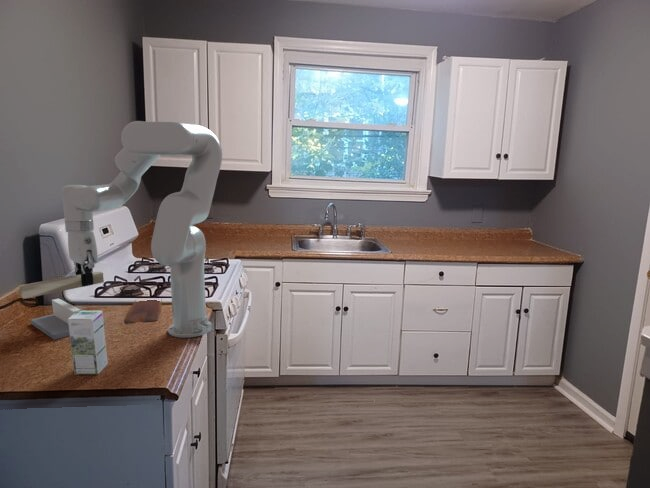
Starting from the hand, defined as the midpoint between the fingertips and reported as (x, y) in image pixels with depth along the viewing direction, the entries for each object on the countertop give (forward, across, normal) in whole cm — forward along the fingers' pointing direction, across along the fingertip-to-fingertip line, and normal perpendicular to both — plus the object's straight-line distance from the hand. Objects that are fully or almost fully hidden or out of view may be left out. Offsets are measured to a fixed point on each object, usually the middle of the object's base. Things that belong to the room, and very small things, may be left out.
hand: (84, 283), depth 137 cm
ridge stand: (+12, 0, +6) cm, 13 cm away
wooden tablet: (+13, -4, -17) cm, 22 cm away
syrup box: (+12, -34, +14) cm, 39 cm away
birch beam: (0, 0, +6) cm, 6 cm away
